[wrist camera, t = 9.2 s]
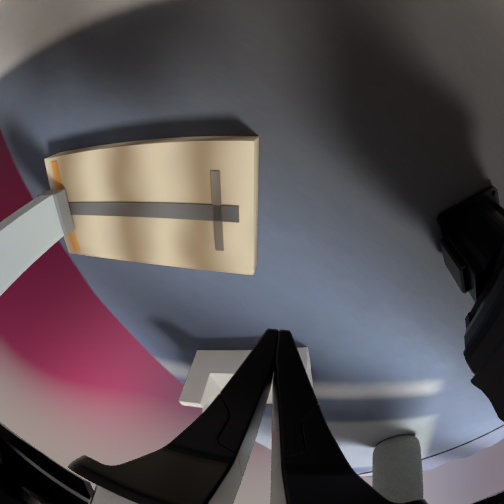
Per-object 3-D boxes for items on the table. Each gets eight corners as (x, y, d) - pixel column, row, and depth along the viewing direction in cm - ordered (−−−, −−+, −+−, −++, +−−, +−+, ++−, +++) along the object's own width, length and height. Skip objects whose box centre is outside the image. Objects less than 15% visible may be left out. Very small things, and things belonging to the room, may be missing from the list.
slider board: (258, 136, 17) (254, 141, 16) (257, 260, 23) (253, 276, 21) (58, 152, 20) (43, 159, 18) (80, 242, 25) (68, 253, 24)
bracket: (217, 379, 35) (203, 426, 29) (197, 348, 31) (178, 400, 25) (313, 378, 32) (310, 431, 25) (307, 344, 28) (304, 406, 22)
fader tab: (64, 189, 19) (-22, 251, 11) (75, 229, 22) (1, 298, 13) (45, 190, 20) (-34, 248, 11) (56, 228, 22) (-14, 291, 13)
